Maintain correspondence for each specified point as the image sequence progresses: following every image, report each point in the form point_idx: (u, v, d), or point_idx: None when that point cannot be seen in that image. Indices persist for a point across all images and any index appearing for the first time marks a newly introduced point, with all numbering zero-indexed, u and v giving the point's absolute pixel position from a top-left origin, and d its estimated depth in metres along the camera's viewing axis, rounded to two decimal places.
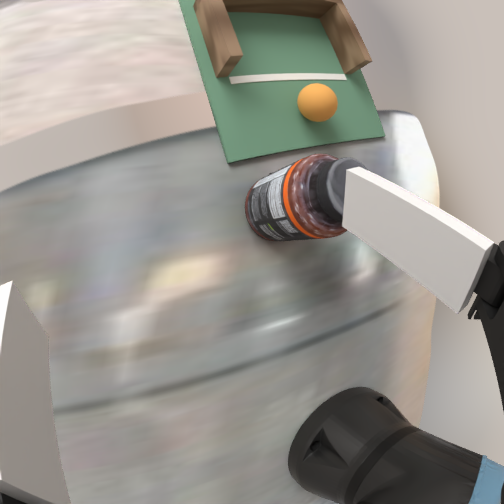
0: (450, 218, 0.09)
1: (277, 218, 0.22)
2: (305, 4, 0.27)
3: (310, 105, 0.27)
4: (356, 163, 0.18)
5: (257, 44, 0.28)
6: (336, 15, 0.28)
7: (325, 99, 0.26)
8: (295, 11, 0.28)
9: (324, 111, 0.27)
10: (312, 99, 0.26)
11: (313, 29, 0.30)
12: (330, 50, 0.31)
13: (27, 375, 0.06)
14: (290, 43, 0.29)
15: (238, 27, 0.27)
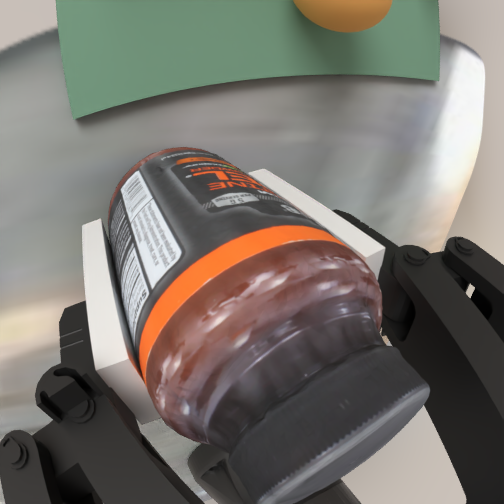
0: (337, 220, 0.09)
1: None
2: None
3: None
4: (410, 407, 0.04)
5: None
6: None
7: None
8: None
9: (354, 16, 0.08)
10: None
11: None
12: None
13: None
14: None
15: None
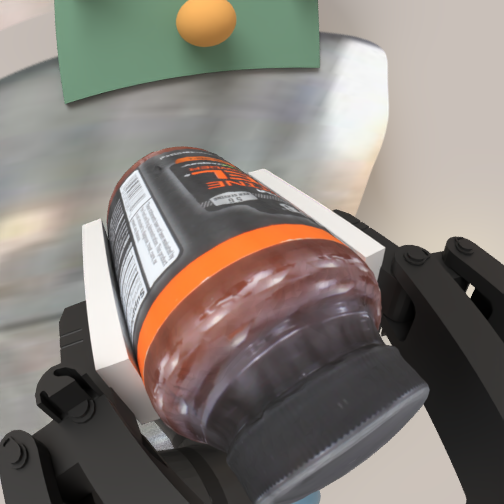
0: (337, 220, 0.09)
1: None
2: None
3: (185, 28, 0.15)
4: (409, 407, 0.04)
5: None
6: None
7: (208, 22, 0.15)
8: None
9: (204, 38, 0.16)
10: (189, 20, 0.15)
11: None
12: None
13: None
14: None
15: None
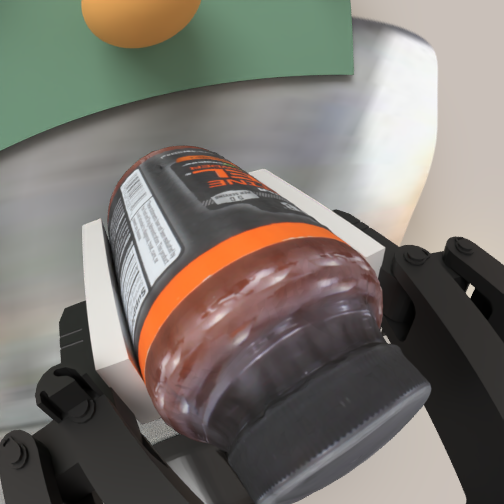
0: (337, 220, 0.09)
1: None
2: None
3: (91, 15, 0.06)
4: (411, 406, 0.04)
5: None
6: None
7: None
8: None
9: (131, 29, 0.07)
10: None
11: None
12: None
13: None
14: None
15: None
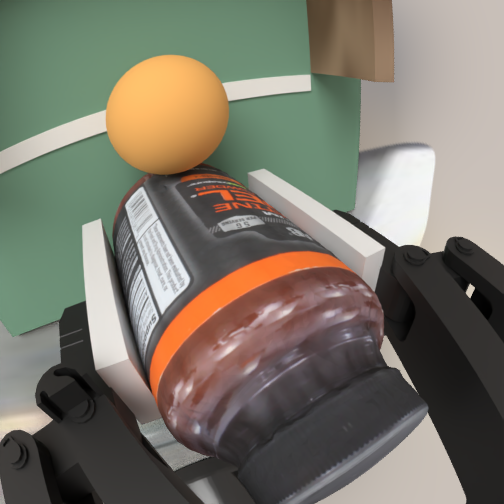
0: (337, 220, 0.09)
1: None
2: None
3: (113, 94, 0.08)
4: (408, 427, 0.04)
5: (52, 25, 0.07)
6: None
7: (145, 60, 0.08)
8: None
9: (152, 68, 0.07)
10: (115, 85, 0.08)
11: None
12: (292, 6, 0.10)
13: (122, 293, 0.09)
14: None
15: None
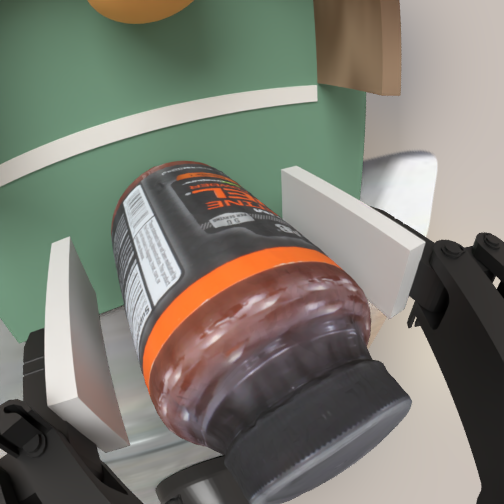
0: (377, 216, 0.09)
1: None
2: None
3: None
4: (389, 418, 0.05)
5: (59, 33, 0.07)
6: None
7: (139, 23, 0.07)
8: None
9: None
10: None
11: None
12: (300, 16, 0.11)
13: (87, 317, 0.08)
14: None
15: None
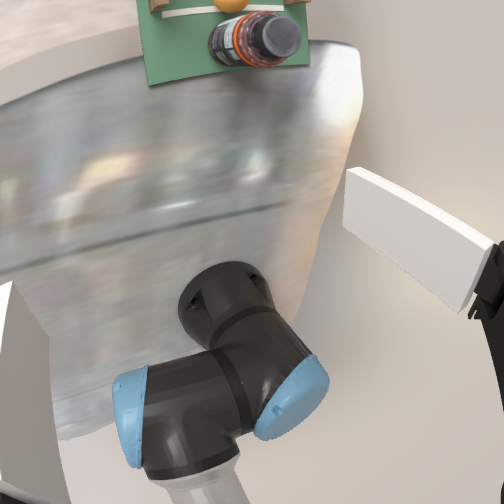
0: (450, 218, 0.09)
1: (228, 48, 0.25)
2: None
3: None
4: (290, 21, 0.21)
5: None
6: None
7: None
8: None
9: None
10: None
11: None
12: None
13: (27, 375, 0.06)
14: None
15: None
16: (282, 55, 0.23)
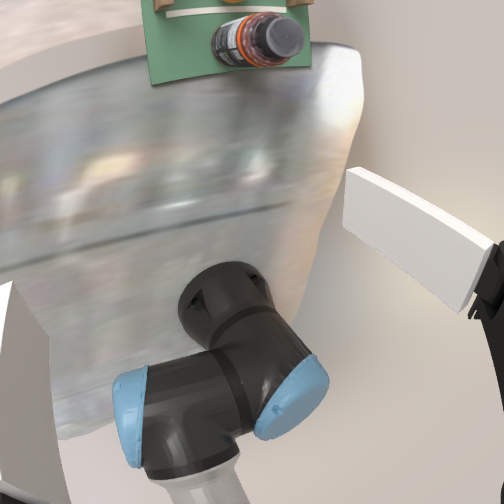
0: (450, 218, 0.09)
1: (231, 48, 0.25)
2: None
3: None
4: (293, 22, 0.21)
5: None
6: None
7: None
8: None
9: None
10: None
11: None
12: None
13: (27, 375, 0.06)
14: None
15: None
16: (285, 55, 0.23)
